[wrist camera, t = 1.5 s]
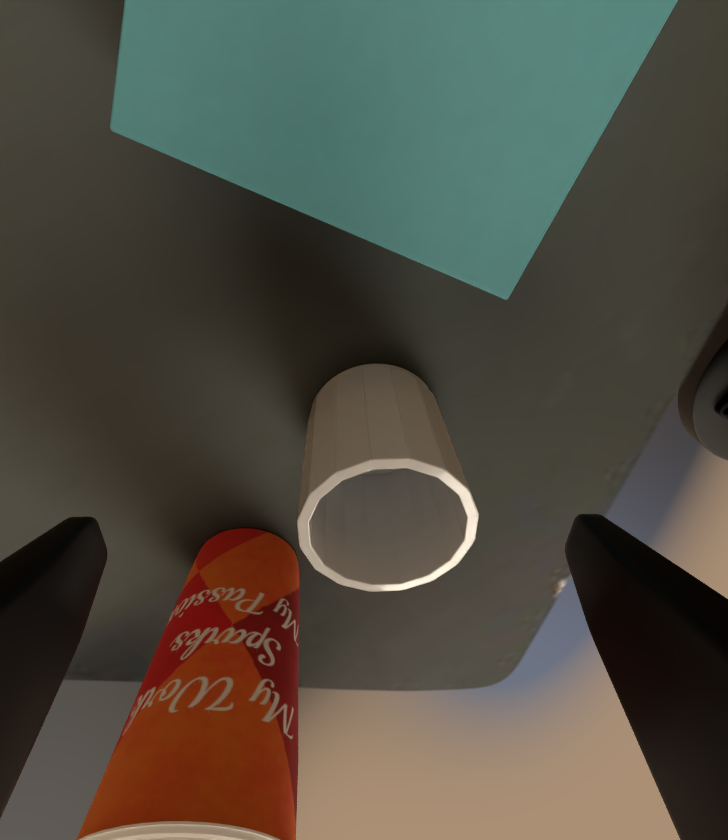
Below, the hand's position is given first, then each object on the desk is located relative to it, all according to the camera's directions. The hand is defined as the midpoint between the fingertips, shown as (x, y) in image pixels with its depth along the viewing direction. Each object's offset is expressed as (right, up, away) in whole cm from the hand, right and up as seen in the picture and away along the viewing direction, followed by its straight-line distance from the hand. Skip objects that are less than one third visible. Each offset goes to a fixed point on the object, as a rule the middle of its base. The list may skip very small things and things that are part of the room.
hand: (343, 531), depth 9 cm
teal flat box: (+1, +14, +5) cm, 15 cm away
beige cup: (+1, +2, +13) cm, 13 cm away
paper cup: (-6, -6, +17) cm, 19 cm away
